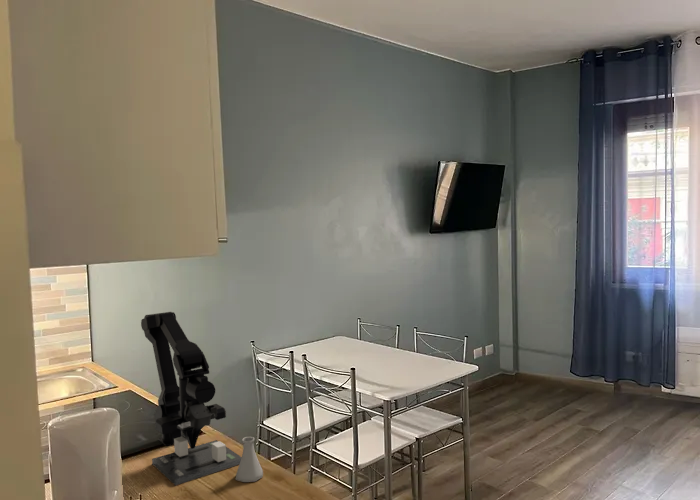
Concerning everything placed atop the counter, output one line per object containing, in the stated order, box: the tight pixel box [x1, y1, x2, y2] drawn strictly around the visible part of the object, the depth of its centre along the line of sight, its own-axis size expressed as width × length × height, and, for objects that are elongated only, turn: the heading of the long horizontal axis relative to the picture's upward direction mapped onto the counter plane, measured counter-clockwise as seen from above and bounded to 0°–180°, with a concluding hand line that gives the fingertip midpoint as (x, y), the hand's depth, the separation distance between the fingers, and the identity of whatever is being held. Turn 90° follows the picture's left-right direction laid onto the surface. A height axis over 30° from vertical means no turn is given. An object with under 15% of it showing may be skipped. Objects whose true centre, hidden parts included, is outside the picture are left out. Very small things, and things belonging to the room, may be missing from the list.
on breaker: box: [212, 440, 227, 462], centre depth 154 cm, size 4×2×4 cm, turn 39°
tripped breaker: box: [173, 436, 189, 457], centre depth 158 cm, size 4×2×4 cm, turn 39°
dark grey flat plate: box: [151, 439, 242, 486], centre depth 156 cm, size 16×19×2 cm
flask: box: [235, 436, 264, 483], centre depth 147 cm, size 7×7×10 cm
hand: (192, 448), depth 160 cm, fingers closed
